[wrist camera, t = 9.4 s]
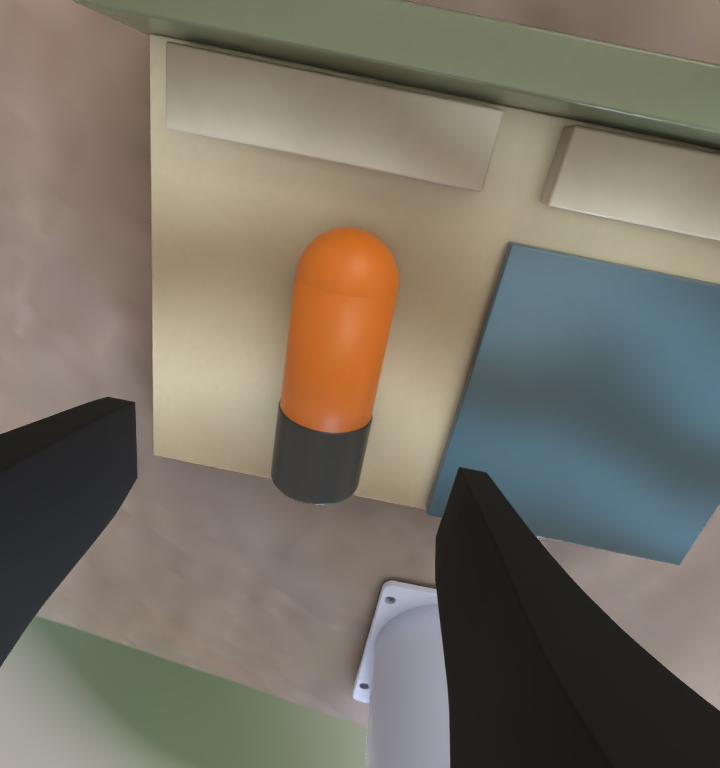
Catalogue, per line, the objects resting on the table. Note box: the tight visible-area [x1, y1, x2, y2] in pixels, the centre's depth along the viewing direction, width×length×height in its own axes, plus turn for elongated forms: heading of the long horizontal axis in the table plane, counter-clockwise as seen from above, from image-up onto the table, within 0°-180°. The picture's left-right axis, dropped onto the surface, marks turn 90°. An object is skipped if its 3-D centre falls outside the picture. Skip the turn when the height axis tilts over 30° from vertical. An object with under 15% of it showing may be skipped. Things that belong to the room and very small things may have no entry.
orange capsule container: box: [271, 227, 399, 505], centre depth 15 cm, size 9×3×3 cm
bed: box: [73, 0, 720, 565], centre depth 16 cm, size 15×22×5 cm
